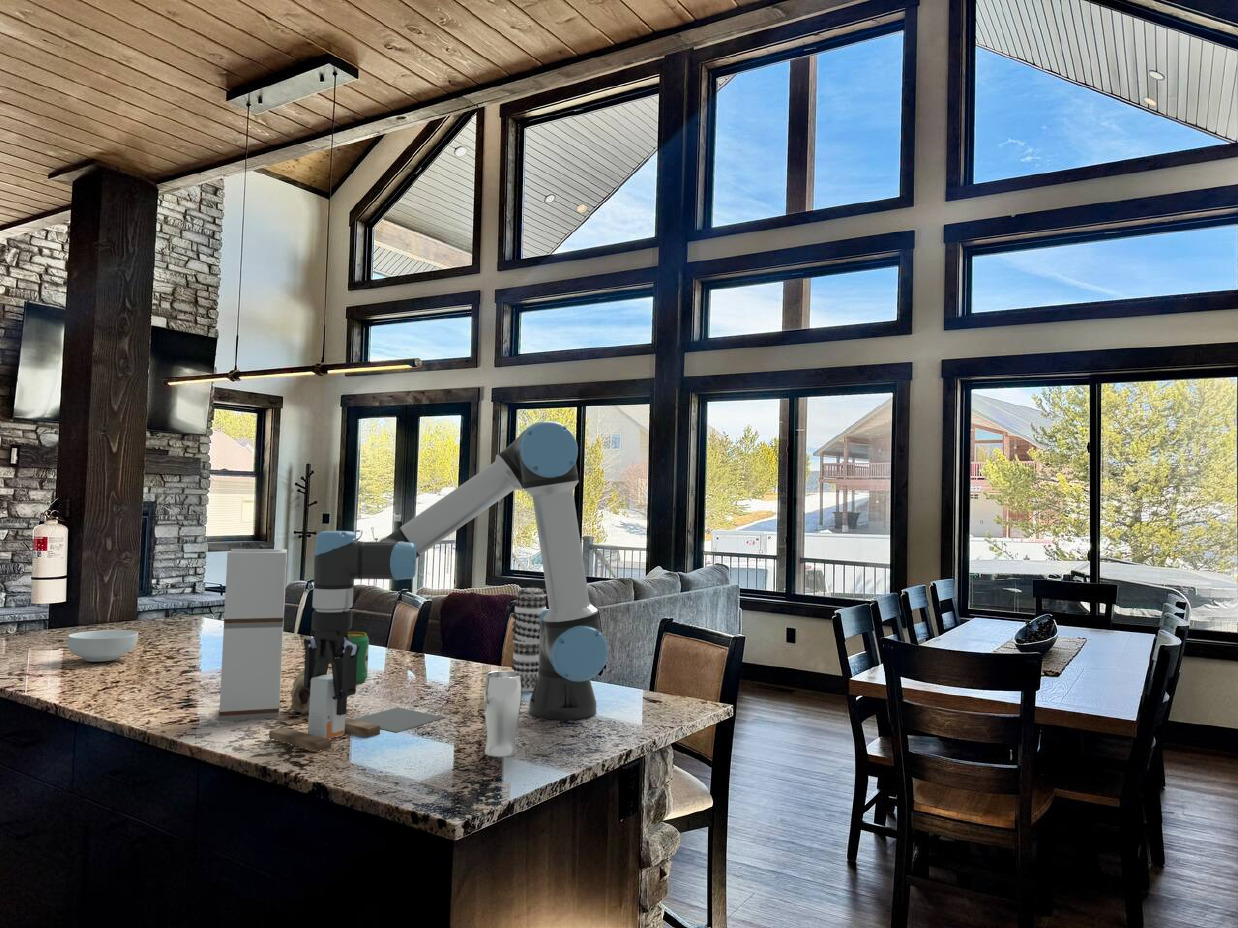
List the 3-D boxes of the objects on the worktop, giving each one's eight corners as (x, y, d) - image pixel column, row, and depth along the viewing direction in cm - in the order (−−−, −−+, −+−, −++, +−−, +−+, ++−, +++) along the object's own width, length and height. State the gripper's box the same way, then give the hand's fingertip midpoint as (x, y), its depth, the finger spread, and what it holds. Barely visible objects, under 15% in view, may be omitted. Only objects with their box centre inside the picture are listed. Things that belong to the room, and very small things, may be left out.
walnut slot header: (379, 735, 163) (380, 725, 164) (317, 754, 151) (318, 743, 151) (332, 724, 171) (332, 714, 171) (268, 741, 158) (269, 730, 158)
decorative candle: (503, 689, 205) (507, 589, 206) (517, 682, 214) (520, 586, 215) (538, 693, 203) (541, 591, 204) (550, 685, 212) (553, 587, 213)
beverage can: (368, 683, 208) (370, 635, 209) (335, 685, 205) (337, 637, 206) (365, 676, 215) (367, 630, 216) (333, 678, 213) (335, 631, 213)
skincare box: (324, 743, 157) (327, 680, 158) (306, 740, 159) (309, 677, 159) (345, 735, 163) (348, 674, 163) (328, 733, 164) (331, 672, 165)
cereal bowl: (149, 658, 231) (150, 633, 231) (85, 667, 217) (86, 640, 217) (117, 651, 240) (118, 626, 240) (54, 659, 226) (55, 633, 226)
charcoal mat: (444, 719, 177) (444, 717, 177) (396, 734, 165) (396, 731, 165) (397, 709, 184) (397, 707, 184) (348, 723, 172) (348, 720, 172)
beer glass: (520, 749, 157) (523, 670, 158) (517, 761, 150) (520, 678, 151) (484, 748, 157) (487, 669, 158) (479, 760, 150) (482, 677, 151)
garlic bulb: (290, 708, 182) (292, 662, 183) (330, 706, 185) (332, 661, 186) (289, 719, 173) (291, 671, 174) (331, 716, 176) (333, 669, 177)
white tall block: (279, 705, 184) (287, 549, 186) (278, 717, 174) (286, 552, 176) (223, 709, 180) (231, 548, 182) (218, 721, 170) (227, 552, 172)
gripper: (379, 611, 161) (374, 732, 160) (317, 603, 170) (313, 717, 169) (349, 615, 154) (343, 741, 153) (286, 607, 163) (281, 725, 162)
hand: (327, 728), depth 161 cm, fingers closed on skincare box, 5 cm apart
